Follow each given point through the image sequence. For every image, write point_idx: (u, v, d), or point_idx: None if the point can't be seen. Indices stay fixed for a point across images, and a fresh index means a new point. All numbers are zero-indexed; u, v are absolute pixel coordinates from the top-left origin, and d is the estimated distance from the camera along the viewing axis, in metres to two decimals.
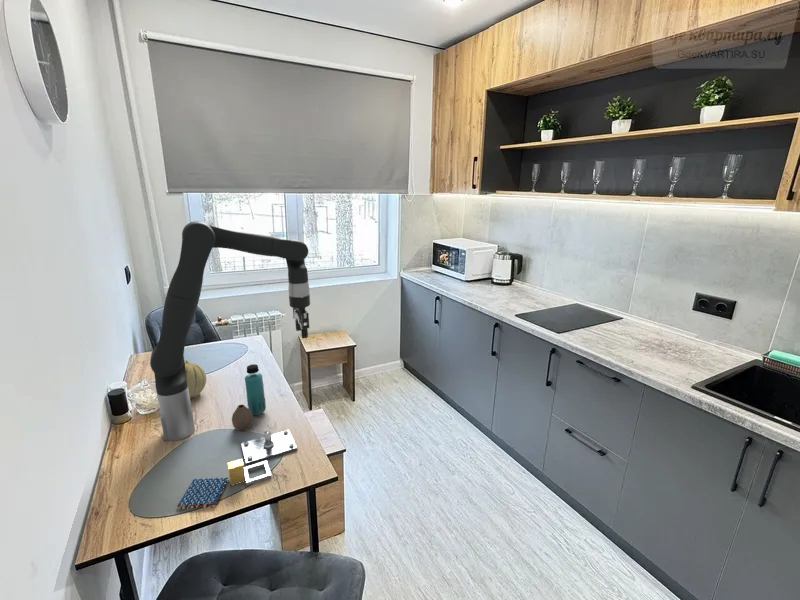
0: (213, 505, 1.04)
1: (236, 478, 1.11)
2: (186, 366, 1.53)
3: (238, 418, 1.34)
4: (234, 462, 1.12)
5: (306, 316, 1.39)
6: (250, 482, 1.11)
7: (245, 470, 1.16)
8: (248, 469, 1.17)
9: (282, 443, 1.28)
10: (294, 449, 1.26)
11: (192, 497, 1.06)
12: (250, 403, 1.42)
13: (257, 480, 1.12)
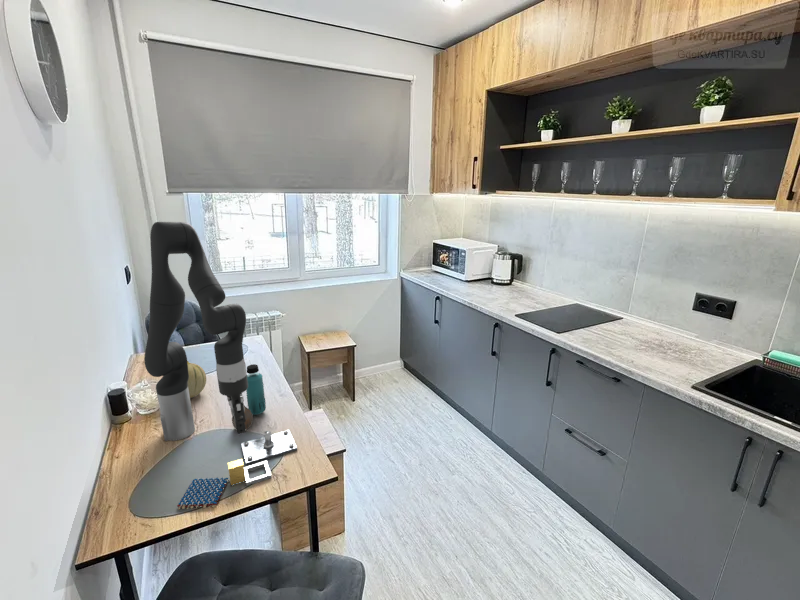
0: (213, 505, 1.04)
1: (236, 478, 1.11)
2: None
3: None
4: (234, 462, 1.12)
5: (240, 408, 1.03)
6: (250, 482, 1.11)
7: (245, 470, 1.16)
8: (248, 469, 1.17)
9: (282, 443, 1.28)
10: (294, 449, 1.26)
11: (192, 497, 1.06)
12: (250, 403, 1.42)
13: (257, 480, 1.12)
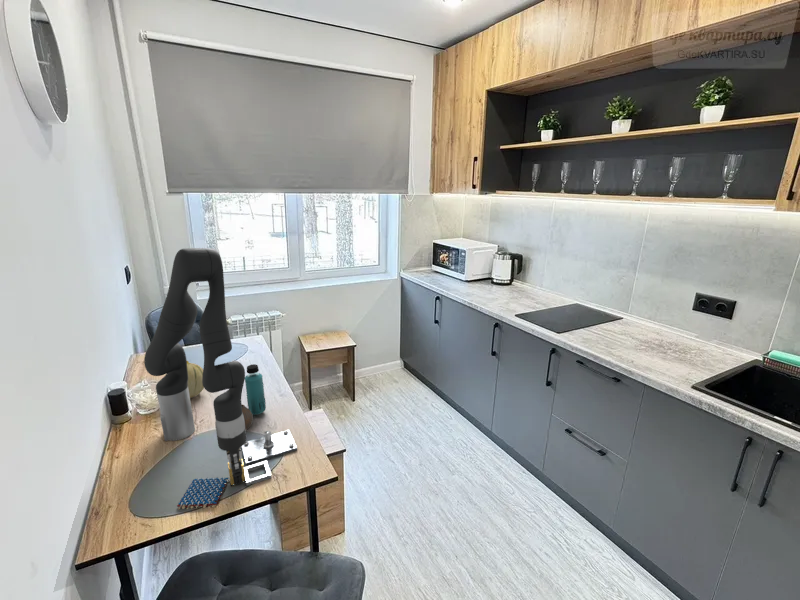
0: (213, 505, 1.04)
1: None
2: None
3: None
4: None
5: (238, 467, 1.06)
6: (250, 482, 1.11)
7: (245, 470, 1.16)
8: (248, 469, 1.17)
9: (282, 443, 1.28)
10: (294, 449, 1.26)
11: (192, 497, 1.06)
12: (250, 403, 1.42)
13: (257, 480, 1.12)
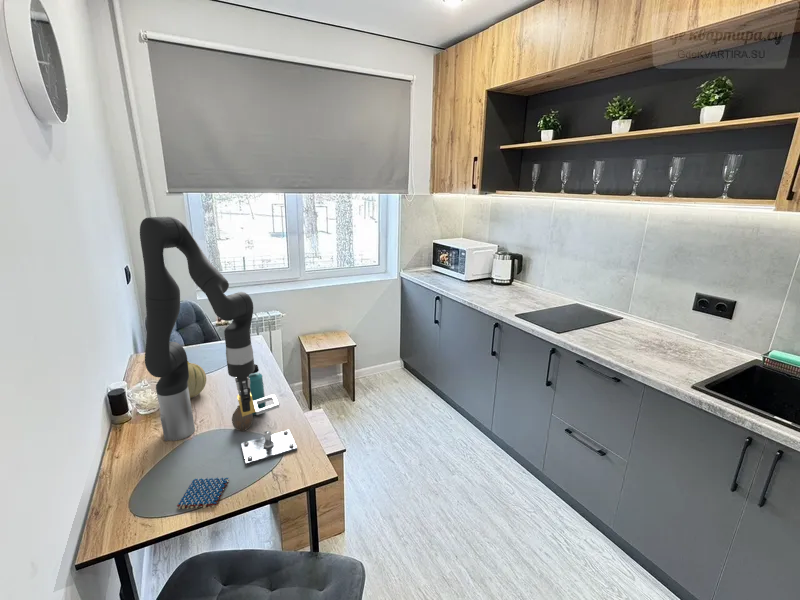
0: (213, 505, 1.04)
1: None
2: None
3: (238, 418, 1.34)
4: None
5: (247, 393, 1.13)
6: (259, 411, 1.19)
7: (254, 402, 1.23)
8: (257, 402, 1.24)
9: (282, 443, 1.28)
10: (294, 449, 1.26)
11: (192, 497, 1.06)
12: None
13: (266, 410, 1.20)
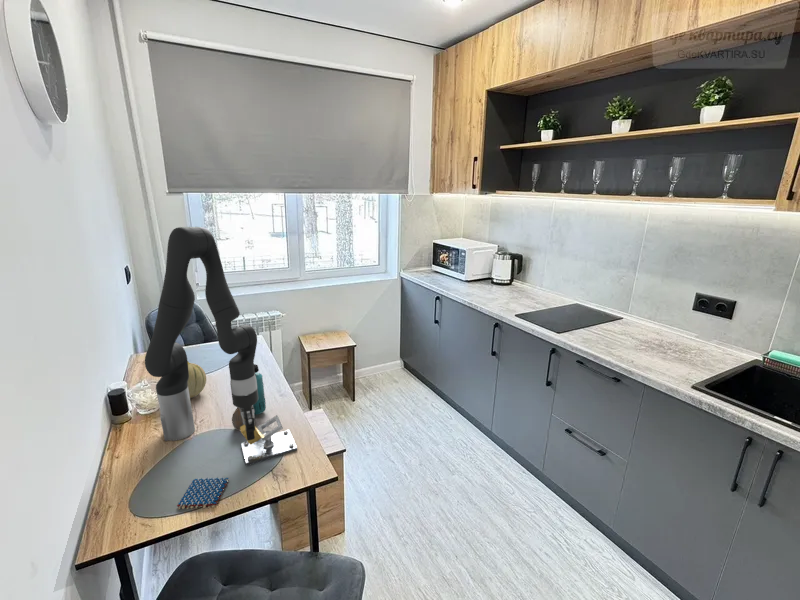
0: (213, 505, 1.04)
1: None
2: None
3: (238, 418, 1.34)
4: None
5: (251, 422, 1.16)
6: (265, 437, 1.22)
7: (259, 428, 1.26)
8: (262, 427, 1.27)
9: (282, 443, 1.28)
10: (294, 449, 1.26)
11: (192, 497, 1.06)
12: None
13: (271, 434, 1.23)
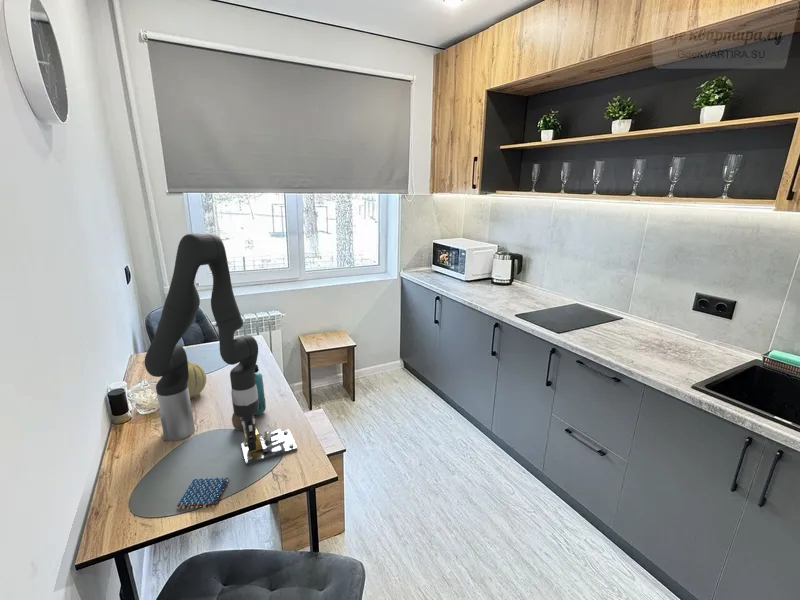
0: (213, 505, 1.04)
1: None
2: None
3: (238, 418, 1.34)
4: None
5: (252, 429, 1.16)
6: (266, 448, 1.23)
7: (261, 439, 1.27)
8: (264, 438, 1.28)
9: None
10: (294, 449, 1.26)
11: (192, 497, 1.06)
12: None
13: (272, 446, 1.24)
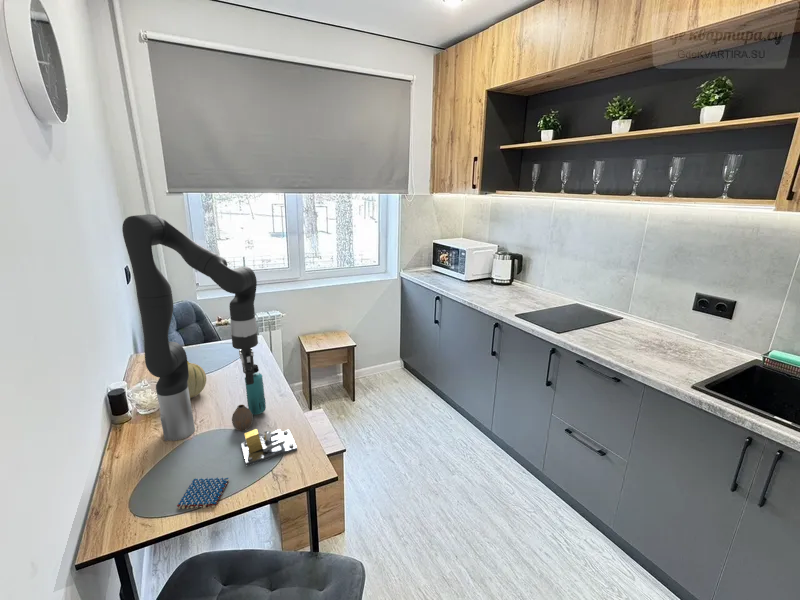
0: (213, 505, 1.04)
1: (253, 446, 1.23)
2: None
3: (238, 418, 1.34)
4: (250, 432, 1.24)
5: (250, 360, 1.15)
6: (266, 448, 1.23)
7: (261, 439, 1.27)
8: (264, 438, 1.28)
9: None
10: (294, 449, 1.26)
11: (192, 497, 1.06)
12: (250, 403, 1.42)
13: (272, 446, 1.24)
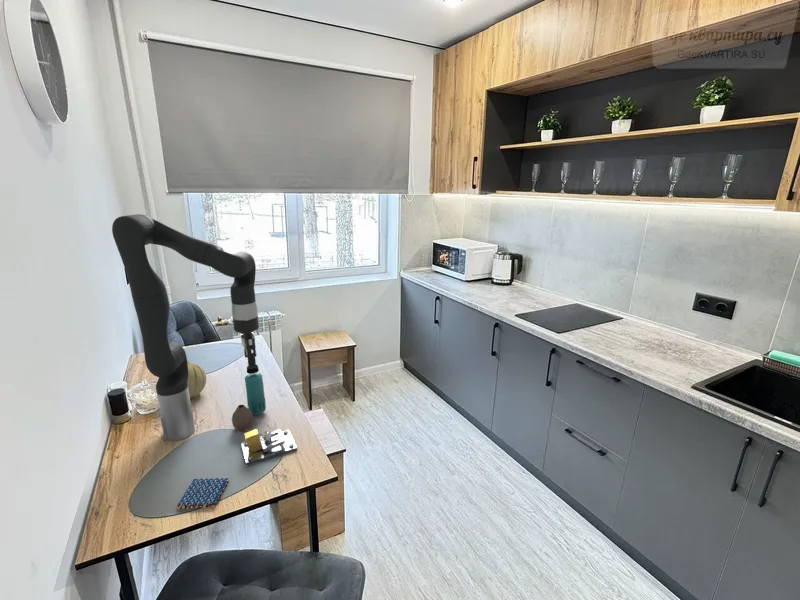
0: (212, 505, 1.04)
1: (253, 446, 1.23)
2: None
3: (238, 418, 1.34)
4: (250, 432, 1.24)
5: (252, 343, 1.18)
6: (266, 448, 1.23)
7: (261, 439, 1.27)
8: (264, 438, 1.28)
9: None
10: (294, 449, 1.26)
11: (192, 497, 1.06)
12: (250, 403, 1.42)
13: (272, 446, 1.24)
